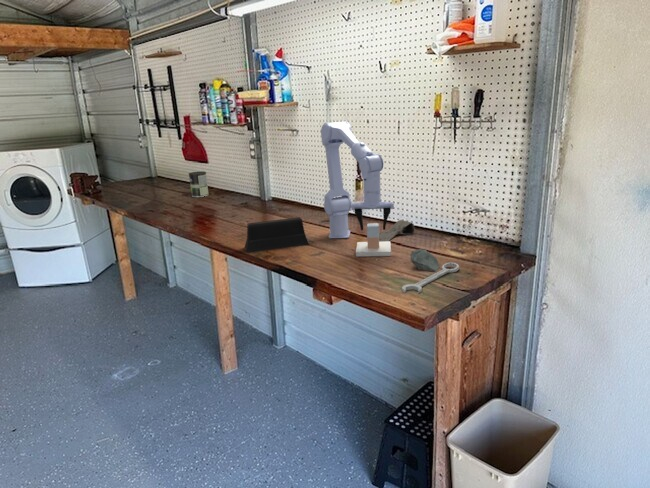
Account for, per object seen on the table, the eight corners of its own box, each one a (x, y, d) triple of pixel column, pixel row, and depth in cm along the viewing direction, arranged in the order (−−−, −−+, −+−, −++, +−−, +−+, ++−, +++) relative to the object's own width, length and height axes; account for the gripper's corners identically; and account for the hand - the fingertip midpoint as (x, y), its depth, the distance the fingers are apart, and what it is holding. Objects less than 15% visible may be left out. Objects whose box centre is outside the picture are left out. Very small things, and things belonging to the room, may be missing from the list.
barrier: (247, 253, 174) (244, 227, 171) (244, 247, 182) (241, 222, 179) (309, 245, 179) (307, 220, 176) (304, 239, 187) (302, 215, 184)
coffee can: (192, 198, 284) (188, 174, 280) (191, 195, 293) (188, 172, 289) (209, 196, 287) (206, 173, 283) (208, 193, 296) (205, 170, 292)
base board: (357, 245, 175) (357, 242, 174) (390, 245, 173) (390, 241, 173) (355, 256, 163) (355, 252, 163) (390, 255, 162) (390, 251, 161)
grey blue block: (367, 234, 169) (367, 223, 167) (379, 234, 168) (378, 223, 167) (367, 237, 165) (366, 226, 164) (378, 237, 164) (378, 226, 163)
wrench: (414, 297, 129) (414, 290, 129) (398, 292, 133) (398, 285, 132) (462, 270, 146) (462, 264, 146) (447, 266, 150) (447, 260, 149)
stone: (445, 264, 154) (416, 252, 158) (448, 254, 152) (419, 242, 156) (434, 278, 146) (404, 265, 150) (437, 267, 144) (407, 255, 148)
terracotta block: (368, 245, 170) (367, 234, 168) (379, 245, 169) (379, 234, 168) (367, 248, 166) (367, 237, 165) (379, 248, 165) (378, 237, 164)
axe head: (380, 241, 173) (362, 235, 181) (382, 253, 175) (364, 247, 183) (419, 221, 184) (400, 217, 191) (420, 233, 186) (402, 228, 193)
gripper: (350, 193, 159) (351, 232, 163) (393, 192, 157) (394, 231, 161) (351, 189, 166) (352, 227, 170) (393, 188, 164) (393, 226, 168)
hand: (373, 229), depth 166 cm, fingers open, 7 cm apart
